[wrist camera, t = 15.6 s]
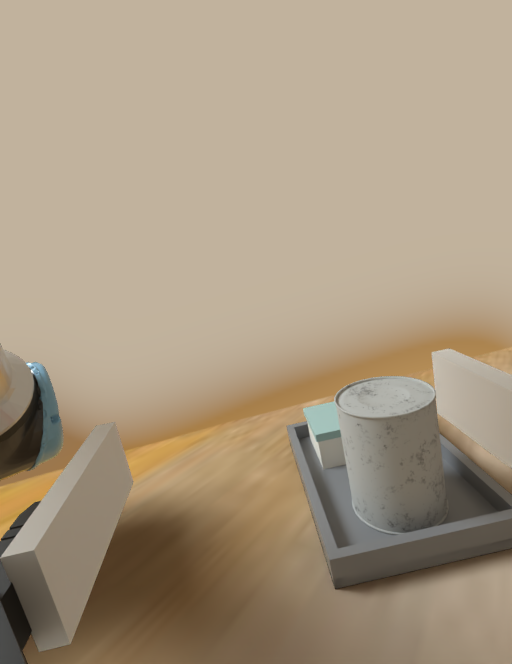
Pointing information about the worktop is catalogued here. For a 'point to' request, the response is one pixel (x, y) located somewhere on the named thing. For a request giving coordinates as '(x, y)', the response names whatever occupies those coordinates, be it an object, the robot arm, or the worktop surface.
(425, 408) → the speckled grey can
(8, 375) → the robot arm
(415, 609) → the worktop surface
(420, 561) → the tote tray
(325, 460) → the teal sponge
